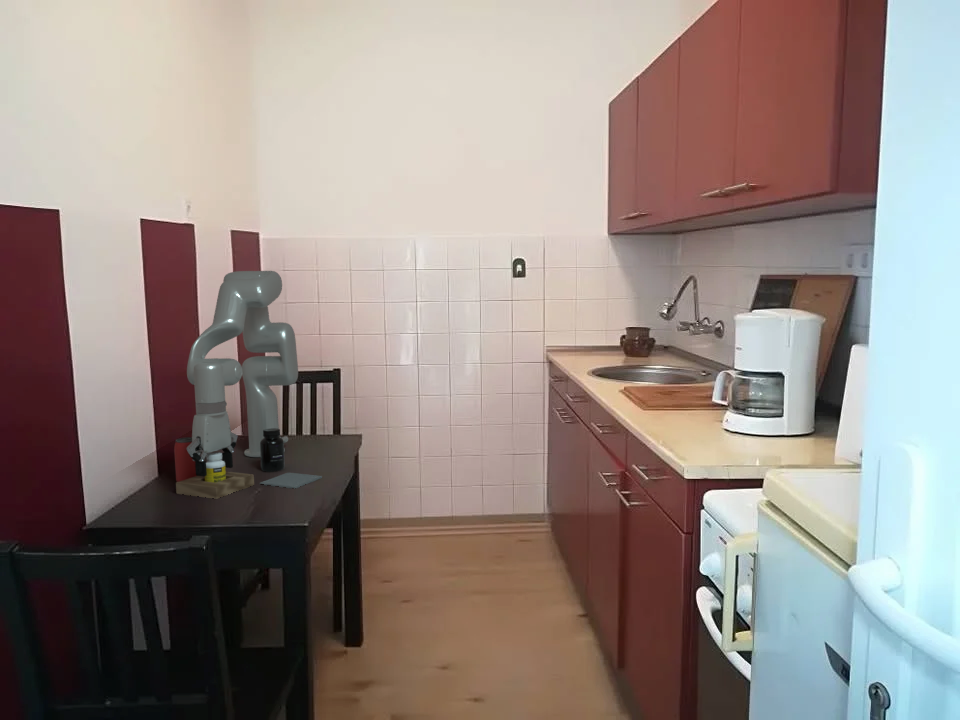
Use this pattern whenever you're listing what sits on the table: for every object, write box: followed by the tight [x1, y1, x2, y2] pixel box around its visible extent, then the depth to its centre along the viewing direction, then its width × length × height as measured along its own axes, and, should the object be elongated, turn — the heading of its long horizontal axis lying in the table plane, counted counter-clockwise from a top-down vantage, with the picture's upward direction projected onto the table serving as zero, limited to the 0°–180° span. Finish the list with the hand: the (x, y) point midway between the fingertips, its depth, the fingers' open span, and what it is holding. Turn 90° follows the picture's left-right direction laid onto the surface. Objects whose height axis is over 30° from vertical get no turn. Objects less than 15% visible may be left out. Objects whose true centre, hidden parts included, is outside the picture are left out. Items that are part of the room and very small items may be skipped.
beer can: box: [173, 436, 197, 482], centre depth 214 cm, size 7×7×12 cm
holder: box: [175, 471, 255, 500], centre depth 204 cm, size 14×14×3 cm
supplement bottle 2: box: [260, 428, 286, 473], centre depth 225 cm, size 7×7×12 cm
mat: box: [259, 472, 323, 489], centre depth 211 cm, size 12×12×1 cm
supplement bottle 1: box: [205, 451, 226, 483], centre depth 204 cm, size 5×5×10 cm
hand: (214, 471), depth 204 cm, fingers open, 9 cm apart
